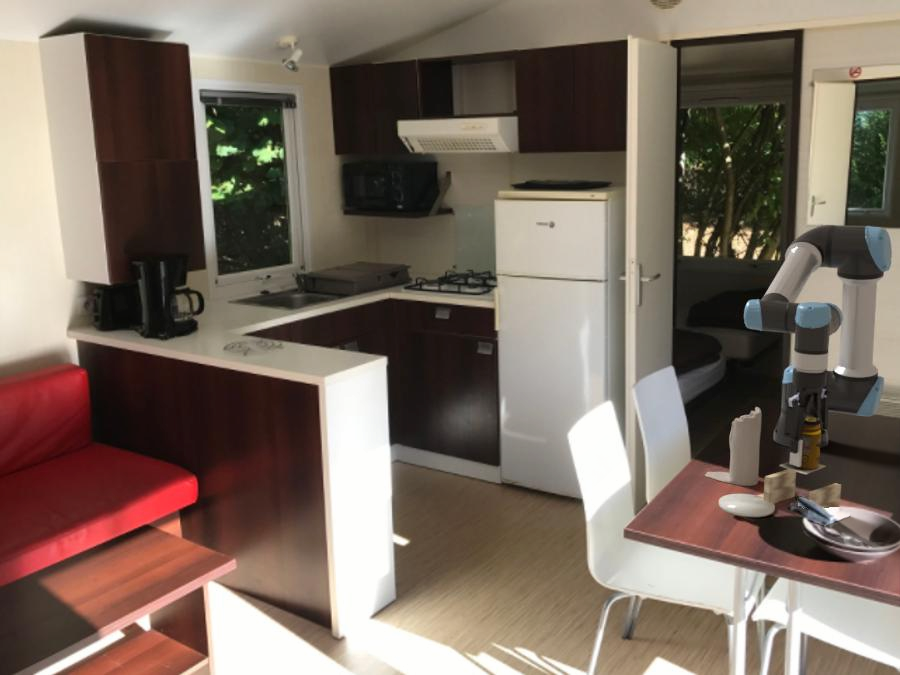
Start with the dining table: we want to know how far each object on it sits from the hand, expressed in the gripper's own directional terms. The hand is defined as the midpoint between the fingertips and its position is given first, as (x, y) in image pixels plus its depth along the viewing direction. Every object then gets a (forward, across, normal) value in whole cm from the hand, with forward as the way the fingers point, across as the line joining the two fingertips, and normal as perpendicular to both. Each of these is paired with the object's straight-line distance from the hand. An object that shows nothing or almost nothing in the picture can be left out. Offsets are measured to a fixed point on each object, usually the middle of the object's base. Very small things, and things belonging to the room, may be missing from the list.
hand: (804, 461), depth 219 cm
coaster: (+11, +11, -8) cm, 17 cm away
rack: (+12, +1, 0) cm, 12 cm away
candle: (+12, -1, -23) cm, 26 cm away
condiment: (+1, +1, 0) cm, 2 cm away
